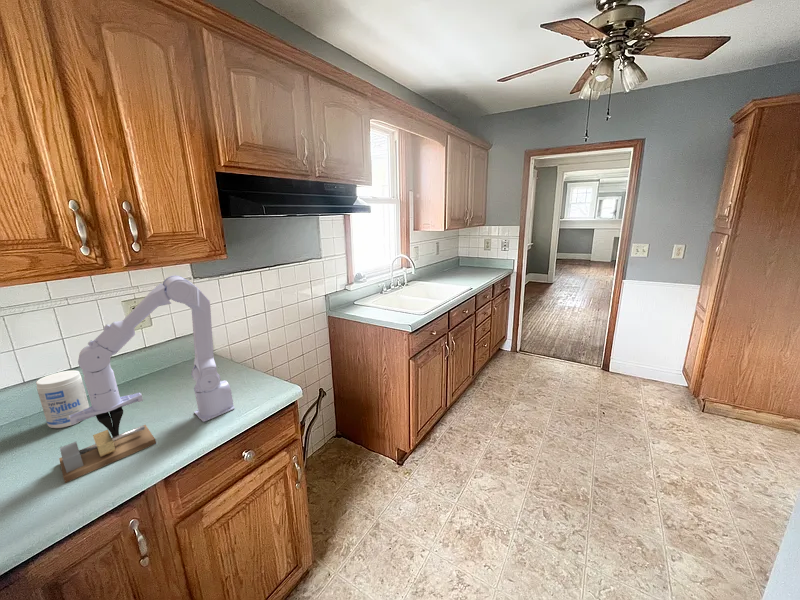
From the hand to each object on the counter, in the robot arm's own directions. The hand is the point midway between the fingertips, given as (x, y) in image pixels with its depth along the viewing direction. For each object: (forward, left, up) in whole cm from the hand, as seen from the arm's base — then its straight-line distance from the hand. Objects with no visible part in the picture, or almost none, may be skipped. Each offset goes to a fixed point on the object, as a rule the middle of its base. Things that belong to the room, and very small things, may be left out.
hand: (115, 434), depth 89 cm
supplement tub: (+7, -27, -4) cm, 28 cm away
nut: (+3, +2, -1) cm, 4 cm away
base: (+2, +2, -3) cm, 5 cm away
